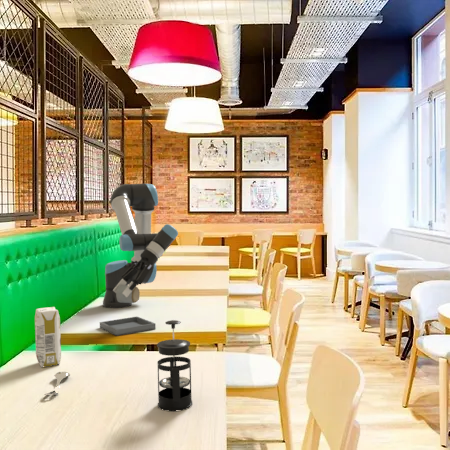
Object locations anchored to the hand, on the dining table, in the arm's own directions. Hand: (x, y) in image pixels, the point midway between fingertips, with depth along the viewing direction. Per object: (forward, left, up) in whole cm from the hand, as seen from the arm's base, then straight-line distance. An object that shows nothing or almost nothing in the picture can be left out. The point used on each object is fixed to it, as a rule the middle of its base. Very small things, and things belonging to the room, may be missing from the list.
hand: (119, 293), depth 235 cm
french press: (+90, -24, -16) cm, 94 cm away
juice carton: (+30, -40, -16) cm, 52 cm away
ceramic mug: (-1, +5, -4) cm, 7 cm away
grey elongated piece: (+56, -45, -16) cm, 74 cm away
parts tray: (0, +3, -16) cm, 16 cm away
